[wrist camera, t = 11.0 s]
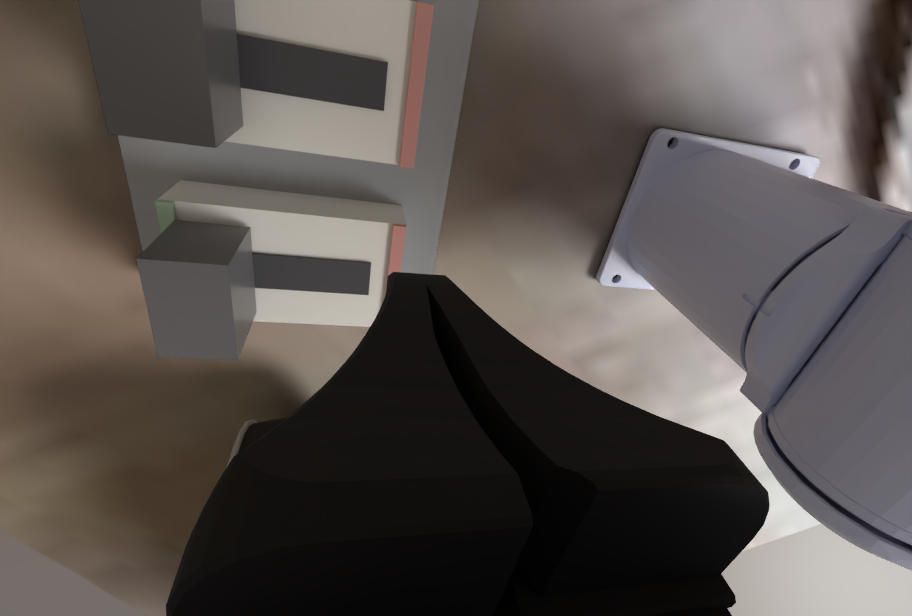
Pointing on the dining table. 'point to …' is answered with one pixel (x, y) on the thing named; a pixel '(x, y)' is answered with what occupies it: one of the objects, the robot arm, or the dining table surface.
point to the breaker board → (279, 153)
